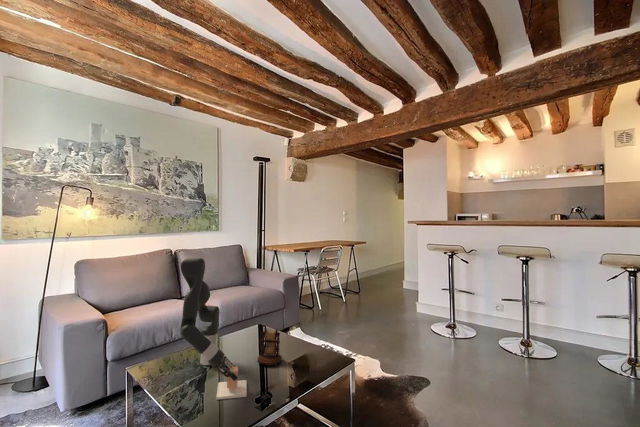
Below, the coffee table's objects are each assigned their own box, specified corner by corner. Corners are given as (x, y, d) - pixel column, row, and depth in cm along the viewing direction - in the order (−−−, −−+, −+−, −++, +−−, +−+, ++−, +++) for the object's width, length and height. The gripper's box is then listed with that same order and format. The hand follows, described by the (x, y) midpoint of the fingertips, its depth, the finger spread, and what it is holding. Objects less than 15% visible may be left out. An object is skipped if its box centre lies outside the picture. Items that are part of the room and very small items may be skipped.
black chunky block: (259, 415, 138) (259, 404, 138) (249, 408, 143) (250, 398, 143) (280, 403, 147) (281, 394, 147) (270, 397, 152) (271, 388, 152)
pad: (218, 384, 162) (218, 382, 162) (246, 382, 165) (246, 379, 165) (216, 399, 148) (216, 397, 148) (246, 396, 151) (246, 394, 151)
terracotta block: (227, 383, 158) (228, 367, 159) (237, 382, 159) (238, 366, 160) (226, 388, 153) (227, 371, 154) (237, 387, 155) (237, 371, 155)
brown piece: (284, 357, 196) (285, 325, 197) (278, 368, 181) (279, 333, 182) (261, 356, 198) (262, 324, 198) (254, 366, 183) (255, 332, 184)
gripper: (217, 354, 148) (242, 377, 151) (219, 342, 162) (242, 364, 165) (204, 366, 147) (230, 389, 149) (208, 353, 161) (231, 375, 163)
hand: (236, 376), depth 157 cm, fingers closed on terracotta block, 4 cm apart
